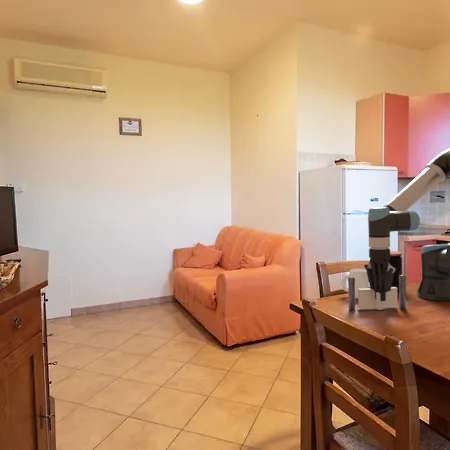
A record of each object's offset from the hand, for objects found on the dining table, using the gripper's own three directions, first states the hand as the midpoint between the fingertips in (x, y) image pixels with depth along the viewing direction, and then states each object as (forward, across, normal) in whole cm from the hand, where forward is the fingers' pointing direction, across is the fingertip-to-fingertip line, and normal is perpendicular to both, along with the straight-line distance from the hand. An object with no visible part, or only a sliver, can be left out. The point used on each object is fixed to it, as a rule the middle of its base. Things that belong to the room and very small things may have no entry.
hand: (380, 308), depth 143 cm
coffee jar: (+2, +22, -34) cm, 40 cm away
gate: (+1, +3, -3) cm, 4 cm away
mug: (+2, +23, -12) cm, 26 cm away
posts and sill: (+2, +4, -3) cm, 5 cm away
